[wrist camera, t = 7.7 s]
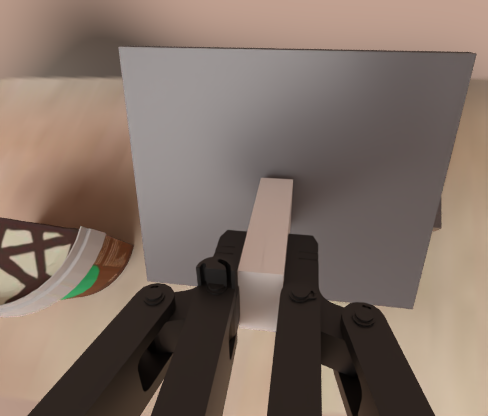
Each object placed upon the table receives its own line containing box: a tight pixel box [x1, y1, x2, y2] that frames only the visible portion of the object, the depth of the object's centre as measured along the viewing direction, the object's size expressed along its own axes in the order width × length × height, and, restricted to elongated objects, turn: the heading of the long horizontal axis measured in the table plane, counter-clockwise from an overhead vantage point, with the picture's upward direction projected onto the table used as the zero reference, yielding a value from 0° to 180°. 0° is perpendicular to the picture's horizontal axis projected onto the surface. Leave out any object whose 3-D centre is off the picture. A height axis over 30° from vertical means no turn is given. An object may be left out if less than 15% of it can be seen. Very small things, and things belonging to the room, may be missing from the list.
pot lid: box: [119, 46, 476, 309], centre depth 19 cm, size 15×12×1 cm
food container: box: [0, 218, 134, 317], centre depth 28 cm, size 12×6×10 cm, turn 81°
